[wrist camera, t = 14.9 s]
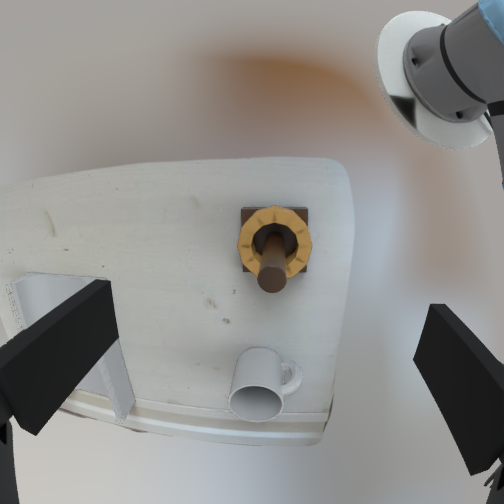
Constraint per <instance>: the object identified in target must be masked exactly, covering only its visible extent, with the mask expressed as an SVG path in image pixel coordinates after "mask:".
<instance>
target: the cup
mask: <svg viewBox="0 0 504 504" xmlns="http://www.w3.org/2000/svg"><path fill="white" fill-rule="evenodd" d="M284 372H291V379H290V381H289V382H287V383H285V384H284ZM302 378H303V371H302V369H301V367H300V366H299V365H298V364H297V363H296V362H293V361H284V362H283V360H282V359H281V357H280V356H279V355H278V354H277V353H276V352H274V351H272V350H271V349H267V348H262V347H257V348H251V349H249V350H246V351H245V352H243V353H242V354H241V355H240V357H239V358H238V361H237V364H236V367H235V372H234V376H233V381H232V385H231V389H230V394H229V398H228V405H229V408H230V410H231V411H232V412H233V413H234V414H235V415H236V416H237V417H239V418H241V419H243V420H246V421H250V422H266V421H269V420H272V419H274V418H276V417H277V416H278V415H280V414H281V412H282V410H283V408H284V396H286V395H289V394H292V393H294V392H295V391H296V390H297V389H298V388H299V387H300V385H301V382H302Z"/></svg>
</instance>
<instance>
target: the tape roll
mask: <svg viewBox="0 0 504 504" xmlns="http://www.w3.org/2000/svg"><path fill="white" fill-rule="evenodd" d="M271 223H278V224H282V225H286V226H288V227H289V228H290V229H291V230H292V231H293V232H294V233H295V234H296V238H297V243H296V247H295V250H294V252H293V253H292V254H290V255H289V256H288V257H287V258H286V275H287V278H291V277H294V276H295V275H296V274H297V273H298V272H299V271H300V270H301V269H302V268H303V267H304V266H306V265H307V262H308V259H309V256H310V252H311V249H312V243H311V239H310V235H309V231H308V227H307V225H306V223H305V222H304V221H303V220H302V219H301V218H300V217H299V216H298V215H297V214H296V213H295V212H294V211H293V210H290V209H287V208H283V207H279V206H271V207H267V208H264V209H260V210H257V211H256V212H255V213H254V214H253V215H252V216H251V217H250V218H249V219H248V220H247V221H246V222H245V223H244V225H243V227H242V229H241V233H240V237H239V241H238V250H239V253H240V256H241V260H242V263H243V265H244V266H246V267H247V268H248V269H249V270H250V271H251V272H252V273H253V274H254V275H255V276H257V277H258V272H259V267H260V262H261V257H262V256H261V255H260V254H259V253H258V252H257V251H256V248H255V245H254V242H253V238H254V234H255V233H256V232H257V231H258V230H259V229H260V228H261V227H262V226H264V225H267V224H271Z"/></svg>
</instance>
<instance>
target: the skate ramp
mask: <svg viewBox="0 0 504 504" xmlns="http://www.w3.org/2000/svg"><path fill="white" fill-rule="evenodd" d="M95 279H100V280H106V278H95V277H80V276H66V275H53V274H40V273H27V274H25V275H23V276H21V277H19V278H18V279H16V280H14V281H12V282H10V283H9V285H10V286H11V290H12V294H13V298H14V301H15V305H16V311H17V312H18V315H19V318H18V319H20V322H21V325H22V326H21V327H22V328H23V330H24V329H27V328H28V327H30V326H31V325H32V324H34V323H35V322H36V321H38V320H39V319H40V318H42V317H43V316H44V315H46V314H47V313H48V312H50V311H51V310H53V309H54V308H55V307H57V306H58V305H59V304H61V303H62V302H64V301H65V300H66V299H68V298H69V297H71V296H72V295H74V294H75V293H76V292H78V291H79V290H81V289H82V288H84V287H85V286H86V285H88V284H89V283H91V282H92V281H94V280H95ZM7 285H8V284H7ZM7 285H5V286H7ZM8 287H9V286H8ZM6 289H7V288H6ZM9 291H10V290H9ZM7 293H8V292H7ZM9 294H10V295H11V293H9ZM9 294H8V295H9ZM8 297H9V296H8ZM11 299H12V298H11ZM9 301H10V300H9ZM11 303H13V301H12V302H11ZM13 306H14V305H13ZM11 308H12V307H11ZM12 311H13V310H12ZM13 313H14V311H13ZM15 313H16V312H15ZM16 316H17V315H16ZM14 318H15V317H14ZM15 321H16V320H15ZM18 323H19V322H18ZM16 324H17V323H16ZM19 326H20V325H19ZM17 327H18V326H17ZM21 327H20V329H21ZM18 330H19V329H18ZM75 389H81V390H85V391H89V392H92V393H96V394H100V395H104V396H108V397H109V399H110V402H111V404H112V407H113V409H114V412H115V415H116V417H117V418H119V419H124V420H125V419H126V417H127V415H128V413H129V412H130V410H131V408H132V406H133V405H134V403H135V401H136V400H135V397H134V394H133V391H132V388H131V384H130V381H129V377H128V374H127V370H126V367H125V363H124V359H123V355H122V351H121V347H120V343H119V339H117V340H116V341H115V342H114V343H113V345H112V346H111V347H110V348H109V349H108V350H107V351H106V353H105V354H104V355H103V356H102V357H101V358H100V360H99V361H98V362H97V363H96V364H95V365H94V366H93V368H92V369H91V370H90V371H89V372H88V373H87V375H86V376H85V377H84V378H83V379H82V381H81V382H80V383H79V384H78V385H77V386H76V388H75ZM117 418H116V419H117ZM117 421H118V420H117ZM120 421H121V420H120ZM122 421H123V420H122ZM122 421H121V422H122ZM116 423H117V422H116ZM122 423H123V422H122ZM119 424H120V423H119Z"/></svg>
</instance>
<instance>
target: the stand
mask: <svg viewBox="0 0 504 504" xmlns="http://www.w3.org/2000/svg"><path fill="white" fill-rule="evenodd" d="M264 208H267V207H243V208H242V209H241V220H242V227H243V225H244V223H245V222H246V221H247V220H248V219H249V218H250V217H251V216H252V215H253V214H254V213H255V212H256V211H257V210H260V209H264ZM283 208H287V209H290V210H293V211H294V212H295V213H296V214H297V215H298V216H299V217H300V218H301V219H302V220H303V221H304V222H305V223H306V225H307V227H308V209H307V207H283ZM253 242H254V245H255V248H256V251H257V252H258V253H259V254H260V255H261V256H262V257H261V262H260V267H259V272H258V277H257V281H258V284H259V286H260V288H261V289H263V290H264V291H266V292H269V293H275V292H278V291H280V290H282V289H283V288H284V286H285V285H286V282H287V275H286V258H287V257H288V256H289V255H290V254H292V253H293V252H294V250H295V247H296V243H297V238H296V234H295V233H294V232H293V231H292V230H291V229H290V228H289V227H288V226H286V225H282V224H278V223H271V224H267V225H264V226H262V227H261V228H260V229H259V230H258V231H257V232H256V233H255V234H254V238H253ZM306 271H307V265H306V266H304V267H303V268H302V269H301V270H300V271H299V272H306ZM243 272H251V271H250V270H249V269H248V268H247V267H246V266H244V265H243Z"/></svg>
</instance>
